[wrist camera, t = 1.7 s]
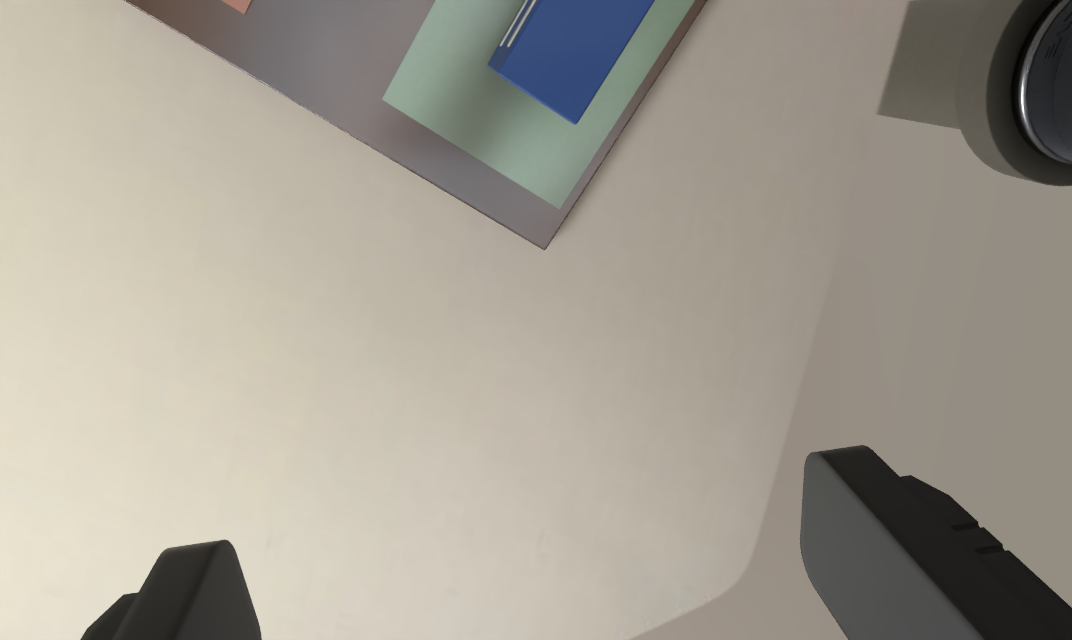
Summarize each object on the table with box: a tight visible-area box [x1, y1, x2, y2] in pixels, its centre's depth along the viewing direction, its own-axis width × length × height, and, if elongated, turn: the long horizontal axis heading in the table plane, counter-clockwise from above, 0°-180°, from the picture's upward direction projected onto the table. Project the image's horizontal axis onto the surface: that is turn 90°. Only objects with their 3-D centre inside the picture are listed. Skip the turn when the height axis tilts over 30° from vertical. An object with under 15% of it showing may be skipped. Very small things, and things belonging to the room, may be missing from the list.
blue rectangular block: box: [488, 0, 655, 125], centre depth 25 cm, size 3×5×8 cm, turn 147°
